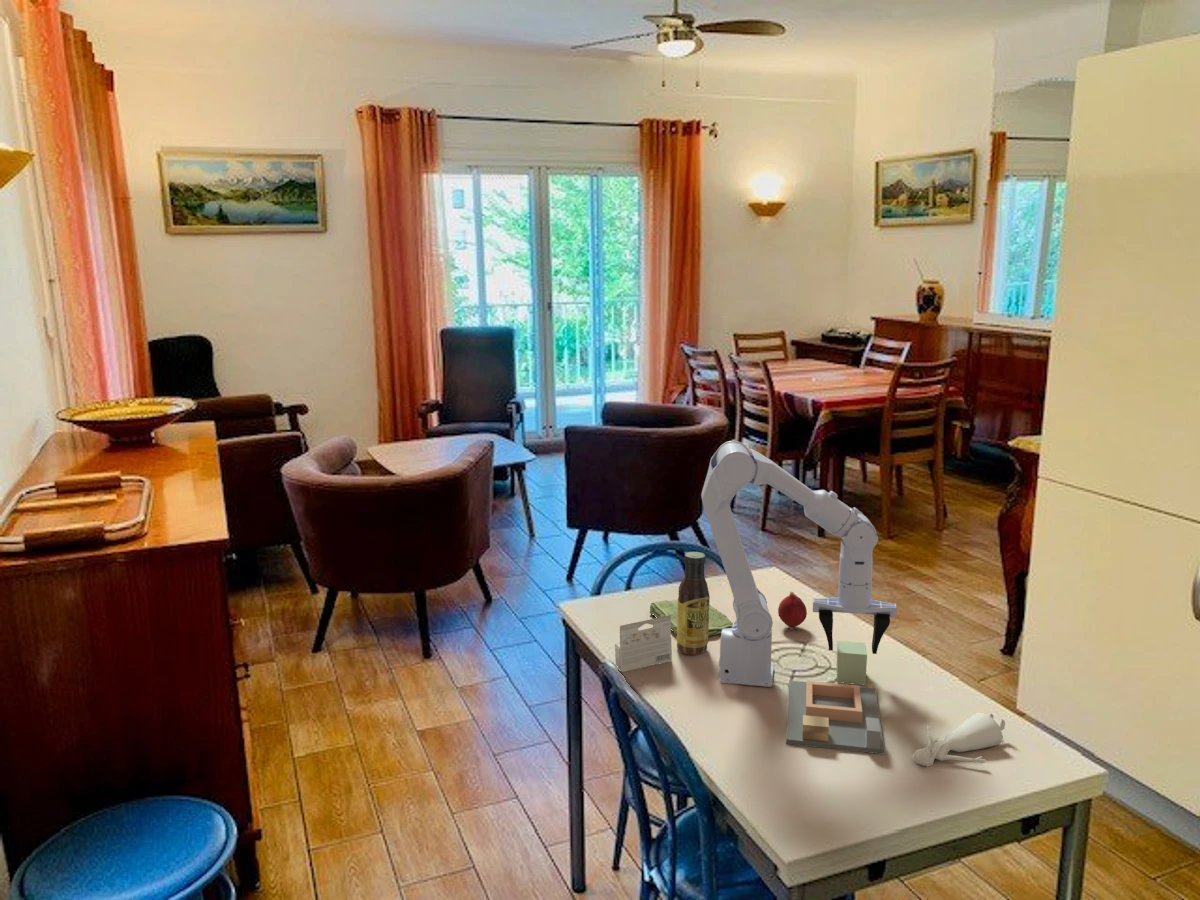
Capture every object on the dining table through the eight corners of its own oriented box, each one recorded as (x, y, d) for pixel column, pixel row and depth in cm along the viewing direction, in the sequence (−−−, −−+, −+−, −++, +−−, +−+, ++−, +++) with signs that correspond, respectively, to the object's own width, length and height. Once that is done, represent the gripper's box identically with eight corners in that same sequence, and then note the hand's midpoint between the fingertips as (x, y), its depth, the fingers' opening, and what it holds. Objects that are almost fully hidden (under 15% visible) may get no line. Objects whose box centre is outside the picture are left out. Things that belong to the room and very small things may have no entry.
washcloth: (682, 646, 176) (682, 631, 176) (645, 613, 192) (645, 600, 192) (738, 634, 181) (739, 620, 180) (698, 604, 197) (698, 590, 196)
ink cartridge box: (614, 668, 167) (614, 620, 165) (666, 656, 171) (666, 610, 169) (620, 673, 165) (619, 625, 162) (672, 662, 169) (672, 615, 167)
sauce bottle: (687, 659, 170) (687, 562, 165) (670, 647, 175) (670, 553, 171) (715, 651, 172) (716, 556, 168) (697, 640, 178) (698, 547, 174)
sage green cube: (836, 682, 159) (838, 652, 158) (836, 670, 164) (837, 640, 163) (865, 685, 158) (867, 654, 157) (863, 672, 163) (865, 642, 162)
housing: (786, 743, 140) (786, 722, 139) (789, 684, 159) (789, 665, 158) (884, 754, 137) (885, 732, 136) (875, 692, 156) (876, 672, 155)
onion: (810, 625, 184) (811, 590, 182) (800, 635, 179) (801, 599, 177) (783, 620, 187) (784, 584, 185) (773, 629, 182) (774, 593, 180)
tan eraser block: (802, 738, 140) (802, 724, 139) (802, 728, 143) (803, 715, 142) (828, 741, 139) (828, 727, 138) (827, 731, 142) (828, 717, 141)
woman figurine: (1030, 727, 135) (946, 766, 128) (1028, 752, 137) (945, 792, 129) (968, 694, 146) (887, 729, 138) (968, 718, 147) (887, 754, 139)
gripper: (895, 574, 159) (891, 643, 162) (813, 569, 162) (811, 637, 165) (899, 588, 152) (895, 660, 155) (813, 583, 156) (811, 654, 159)
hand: (852, 649), depth 160 cm, fingers open, 7 cm apart
